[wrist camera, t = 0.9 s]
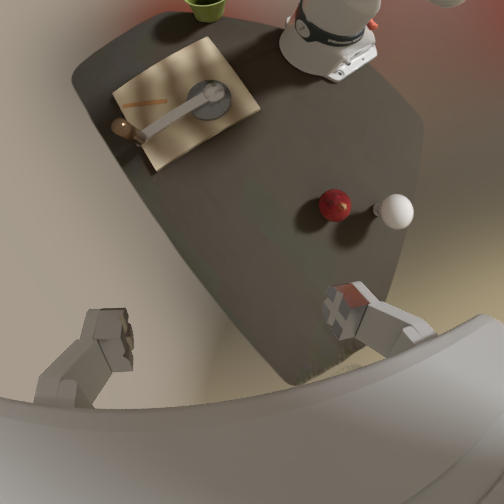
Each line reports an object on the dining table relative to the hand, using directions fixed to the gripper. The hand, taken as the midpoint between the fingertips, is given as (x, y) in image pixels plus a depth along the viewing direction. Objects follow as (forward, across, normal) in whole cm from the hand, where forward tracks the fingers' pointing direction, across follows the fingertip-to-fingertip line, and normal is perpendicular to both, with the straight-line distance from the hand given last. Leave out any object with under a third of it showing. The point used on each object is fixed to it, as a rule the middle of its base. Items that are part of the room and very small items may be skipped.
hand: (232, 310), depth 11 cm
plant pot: (+54, -4, -30) cm, 62 cm away
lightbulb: (+33, -37, +9) cm, 50 cm away
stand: (+48, 0, -9) cm, 48 cm away
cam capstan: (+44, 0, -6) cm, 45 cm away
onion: (+35, -26, +9) cm, 45 cm away
